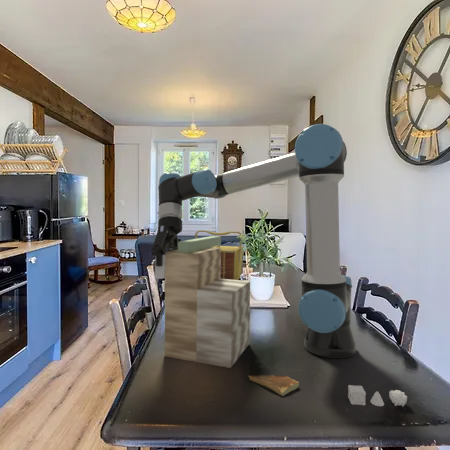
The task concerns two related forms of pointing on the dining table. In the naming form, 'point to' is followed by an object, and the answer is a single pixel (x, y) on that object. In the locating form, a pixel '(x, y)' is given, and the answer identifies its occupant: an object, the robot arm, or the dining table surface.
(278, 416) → the dining table surface
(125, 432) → the dining table surface
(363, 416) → the dining table surface
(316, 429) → the dining table surface
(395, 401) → the game pieces
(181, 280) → the stand
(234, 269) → the picnic basket
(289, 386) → the shard
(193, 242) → the green block
